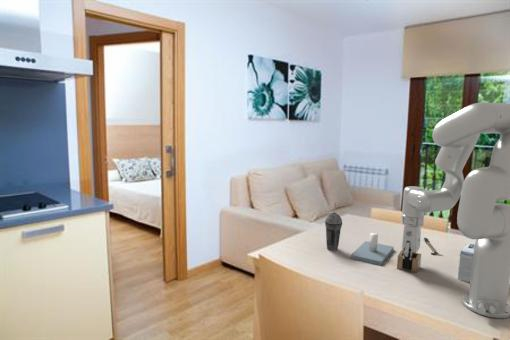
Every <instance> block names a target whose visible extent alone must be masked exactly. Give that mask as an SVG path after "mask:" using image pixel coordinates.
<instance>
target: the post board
mask: <svg viewBox="0 0 510 340" xmlns="http://www.w3.org/2000/svg"><path fill="white" fill-rule="evenodd" d="M378 239H379V234H378V233H376V232H370V234H369V241H366V240H365V241H364V242H363V243H362V244H361V245H360V246H359V247H357V248H356V249H355V251H353V252H352V253H351V254H350V259H352V260H355V261H361V262H365V263H369V264H373V265H378V266H383V264H384V263H385V262H386V261H387V259H388V258H389V257H390V255H391V254H392V252H393V251H394V246H391V245H386V244H383V243H382V244H381V243H378V241H379V240H378Z"/></svg>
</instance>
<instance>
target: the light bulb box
mask: <svg viewBox="0 0 510 340" xmlns="http://www.w3.org/2000/svg"><path fill="white" fill-rule="evenodd" d="M474 246H475V243H474V244H473V243H469V242H466V243H465V245H464V246H463V247H462V249H460V251H459V252H460V253H459V254H460V255H459V261H458V263H459V264H458V272H457V280H460V281H463V282H465V283H466V282H467V283H470V280H471V271H472V262H473V253H474Z"/></svg>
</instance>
